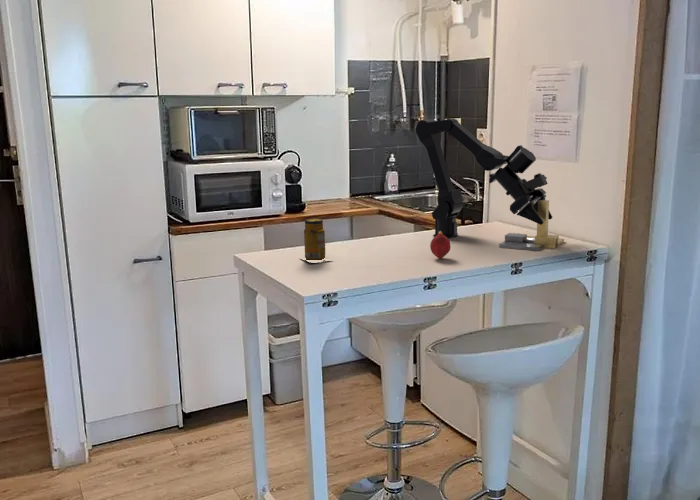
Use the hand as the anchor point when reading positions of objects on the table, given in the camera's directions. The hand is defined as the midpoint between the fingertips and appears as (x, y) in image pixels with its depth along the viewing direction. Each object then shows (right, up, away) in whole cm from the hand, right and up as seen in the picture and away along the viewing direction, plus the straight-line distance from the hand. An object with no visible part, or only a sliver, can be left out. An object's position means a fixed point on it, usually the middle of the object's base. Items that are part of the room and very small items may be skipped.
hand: (547, 221), depth 200 cm
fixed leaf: (-5, -8, +2) cm, 10 cm away
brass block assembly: (-1, -7, +6) cm, 9 cm away
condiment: (-70, -12, -6) cm, 71 cm away
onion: (-34, -11, -9) cm, 37 cm away
